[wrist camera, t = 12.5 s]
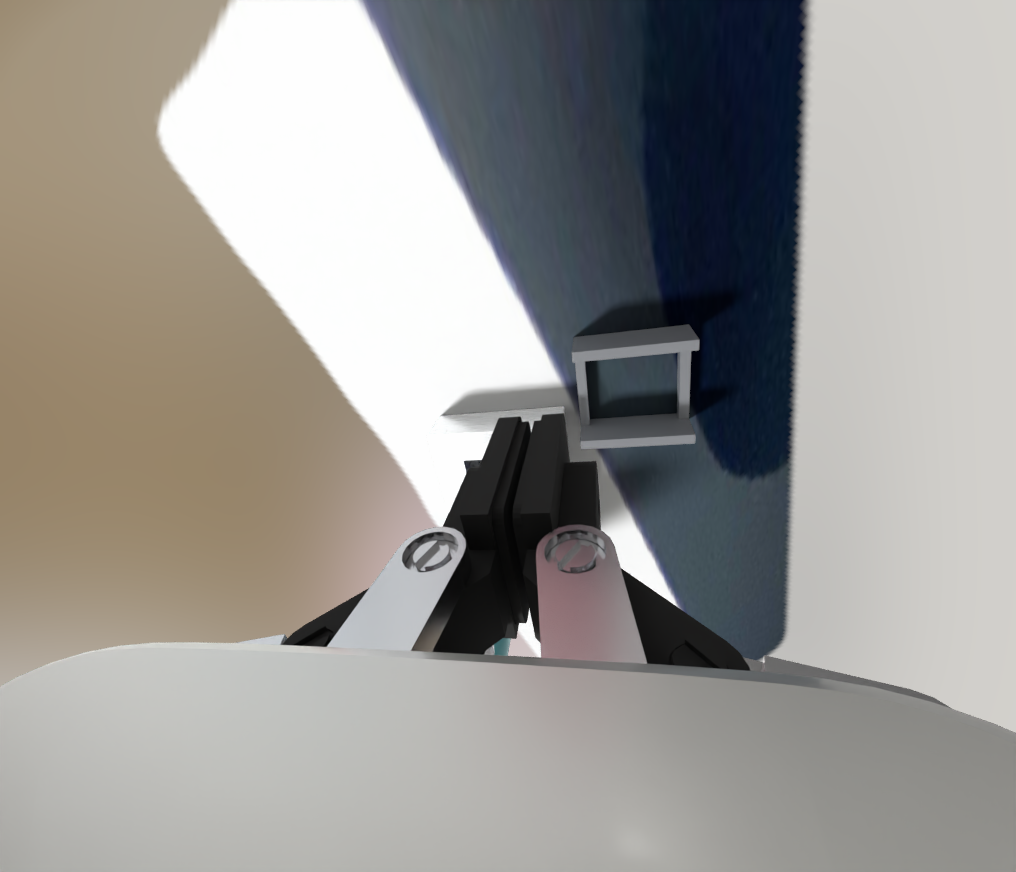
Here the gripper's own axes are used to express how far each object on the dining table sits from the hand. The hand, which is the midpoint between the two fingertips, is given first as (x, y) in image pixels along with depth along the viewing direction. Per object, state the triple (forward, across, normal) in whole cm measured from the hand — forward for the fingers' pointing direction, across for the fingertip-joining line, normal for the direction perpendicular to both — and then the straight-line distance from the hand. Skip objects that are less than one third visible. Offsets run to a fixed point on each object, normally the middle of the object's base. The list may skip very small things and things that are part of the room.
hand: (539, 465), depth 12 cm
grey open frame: (+27, -4, +9) cm, 29 cm away
